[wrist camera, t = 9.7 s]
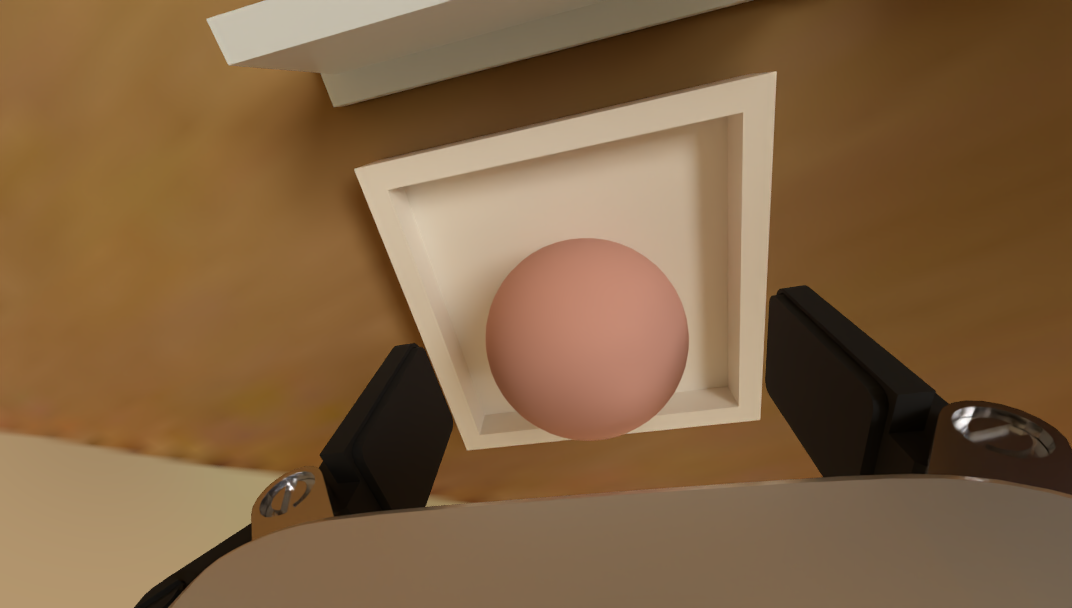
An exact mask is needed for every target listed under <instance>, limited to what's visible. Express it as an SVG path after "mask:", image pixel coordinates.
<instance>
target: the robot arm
mask: <svg viewBox="0 0 1072 608" xmlns="http://www.w3.org/2000/svg"><path fill="white" fill-rule="evenodd" d="M765 383H766V388H767V391H768V393H769V395H770V397H771V398H772V400H773V401H774V403H775V404H776V406H777V407H778V409H779V410H780V412H781V413H782V415H783V416H784V418H785V419H786V421H787V423H788V424H789V426H790V427H791V429H792V430H793V432H794V433H795V435H796V436H797V438H798V439H799V441H800V442H801V444H802V445H803V447H804V448H805V450H806V451H807V453H808V454H809V456H810V457H811V459H812V461H813V462H814V464H815V465H816V467H817V468H818V470H819V471H820V473H821V474H822V476H823V477H822V478H807V479H790V480H773V481H759V482H745V483H731V484H717V485H703V486H689V487H674V488H660V489H647V490H634V491H620V492H607V493H594V494H581V495H568V496H555V497H542V498H529V499H517V500H505V501H493V502H480V503H468V504H456V505H444V506H432V507H425V506H426V503H427V501H428V498H429V495H430V492H431V489H432V486H433V483H434V480H435V478H436V475H437V472H438V469H439V466H440V463H441V460H442V457H443V455H444V452H445V449H446V446H447V443H448V440H449V437H450V434H451V432H452V428H453V419H452V415H451V413H450V410H449V408H448V406H447V403H446V401H445V398H444V396H443V393H442V391H441V388H440V386H439V383H438V381H437V378H436V376H435V373H434V371H433V369H432V366H431V364H430V361H429V359H428V356H427V354H426V351H425V349H424V348H422V347H419V346H418V345H417V344H415V343H412V344H405V345H399V346H395V347H394V348H393V349H392V350H391V352H390V353H389V355H388V356H387V358H386V359H385V361H384V362H383V364H382V365H381V366H380V368H379V369H378V371H377V372H376V374H375V375H374V377H373V378H372V379H371V381H370V382H369V384H368V385H367V387H366V388H365V390H364V391H363V393H362V394H361V395H360V397H359V398H358V400H357V401H356V403H355V404H354V406H353V407H352V409H351V410H350V411H349V413H348V414H347V416H346V417H345V419H344V420H343V422H342V423H341V425H340V426H339V427H338V429H337V430H336V432H335V433H334V435H333V436H332V438H331V439H330V440H329V442H328V443H327V445H326V446H325V448H324V449H323V451H322V452H321V454H320V456H321V458H322V460H323V462H322V464H321V465H320V467H319V468H317V467H314V466H304V467H300V468H297V469H294V470H292V471H290V472H288V473H286V474H284V475H282V476H281V477H279V478H278V479H276V480H275V481H274V482H273V483H271V484H270V485H269V486H268V487H267V488H266V489H265V490H264V491H263V492H262V493H261V495H260V496H259V497H258V498H257V500H256V502H255V504H254V506H253V508H252V514H251V522H252V523H251V524H249V525H248V526H246V527H245V528H243V529H242V530H240V531H239V532H237V533H236V534H234V535H232V536H231V537H229V538H228V539H226V540H225V541H223V542H222V543H220V544H219V545H217V546H216V547H214V548H213V549H211V550H209V551H208V552H206V553H205V554H203V555H202V556H200V557H199V558H197V559H196V560H194V561H192V562H191V563H189V564H188V565H186V566H185V567H183V568H182V569H180V570H179V571H177V572H176V573H174V574H172V575H171V576H169V577H168V578H166V579H165V580H164V581H163V582H161V583H159V584H158V585H156V586H155V587H153V588H152V589H151V590H150V591H149V592H148V593H146V594H145V595H144V596H143V597H142V599H141V600H140V601H139V602H138V604H137V605H136V606H135V607H134V608H1072V449H1071V447H1070V445H1069V443H1068V441H1067V439H1066V438H1065V437H1064V436H1063V435H1062V434H1061V433H1060V432H1059V431H1058V430H1057V429H1056V428H1054V427H1053V426H1051V425H1049V424H1048V423H1046V422H1045V421H1043V420H1041V419H1040V418H1037V417H1035V416H1033V415H1031V414H1028V413H1026V412H1024V411H1022V410H1018V409H1015V408H1012V407H1008V406H1005V405H1002V404H996V403H991V402H985V401H960V402H954V403H951V404H948V403H947V402H946V401H945V400H943V399H942V398H941V397H940V396H939V395H937V394H936V393H935V392H936V391H935V390H934V389H933V388H931V387H930V386H929V385H928V384H927V383H925V382H924V381H923V380H922V379H920V378H919V377H918V376H917V375H916V374H914V373H913V372H912V371H911V370H909V369H908V368H907V367H906V366H905V365H903V364H902V363H901V362H900V361H898V360H897V359H896V358H895V357H894V356H892V355H891V354H890V353H889V352H887V351H886V350H885V349H884V348H883V347H881V346H880V345H879V344H878V343H876V342H875V341H874V340H873V339H872V338H870V337H869V336H868V335H867V334H865V333H864V332H863V331H862V330H861V329H859V328H858V327H857V326H856V325H854V324H853V323H852V322H851V321H850V320H848V319H847V318H846V317H845V316H843V315H842V314H841V313H840V312H839V311H837V310H836V309H835V308H834V307H832V306H831V305H830V304H829V303H828V302H826V301H825V300H824V299H823V298H821V297H820V296H819V295H818V294H817V293H815V292H814V291H813V290H812V289H810V288H809V287H808V286H806V285H803V286H796V287H790V288H783V289H779V290H778V292H777V295H774V296H771V298H770V302H769V320H768V339H767V358H766V377H765Z"/></svg>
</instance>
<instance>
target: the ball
mask: <svg viewBox="0 0 1072 608" xmlns="http://www.w3.org/2000/svg"><path fill="white" fill-rule="evenodd" d="M688 350H689V333H688V324H687V318H686V315H685V311H684V308H683V305H682V302H681V300H680V298H679V296H678V294H677V292H676V290H675V288H674V287H673V285H672V284H671V282H670V281H669V280H668V278H667V277H666V275H665V274H664V273H663V272H662V271H661V270H660V269H659V268H658V267H657V266H656V265H655V264H654V263H653V262H651V261H650V260H649V259H647V258H646V257H645V256H643V255H642V254H640V253H639V252H637V251H635V250H633V249H632V248H629V247H627V246H625V245H622V244H620V243H616V242H612V241H609V240H603V239H596V238H578V239H569V240H564V241H560V242H556V243H553V244H551V245H548V246H545V247H543V248H541V249H539V250H537V251H536V252H534V253H532V254H531V255H529V256H528V257H526V258H525V259H524V260H522V261H521V262H520V263H519V264H518V265H517V266H516V267H515V268H514V269H513V270H512V271H511V272H510V273H509V274H508V276H507V277H506V278H505V279H504V281H503V282H502V284H501V286H500V288H499V289H498V291H497V293H496V295H495V297H494V299H493V302H492V304H491V307H490V311H489V315H488V319H487V324H486V353H487V358H488V362H489V366H490V370H491V373H492V375H493V378H494V380H495V382H496V384H497V386H498V388H499V389H500V391H501V393H502V394H503V396H504V397H505V399H506V400H507V401H508V403H509V404H510V405H511V406H512V407H513V408H514V409H515V410H516V411H517V412H518V413H519V414H520V415H521V416H522V417H523V418H525V419H526V420H527V421H529V422H530V423H532V424H533V425H535V426H537V427H538V428H540V429H542V430H544V431H546V432H548V433H551V434H553V435H556V436H559V437H563V438H567V439H573V440H584V441H592V440H603V439H609V438H613V437H617V436H620V435H623V434H626V433H628V432H630V431H632V430H634V429H636V428H638V427H640V426H641V425H643V424H644V423H646V422H648V421H649V420H650V419H651V418H653V417H654V416H655V415H656V414H657V413H658V412H659V411H660V410H661V409H662V408H663V407H664V406H665V405H666V403H667V402H668V401H669V399H670V398H671V397H672V395H673V394H674V392H675V390H676V389H677V387H678V385H679V383H680V380H681V378H682V375H683V373H684V370H685V367H686V361H687V356H688Z"/></svg>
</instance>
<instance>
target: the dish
mask: <svg viewBox="0 0 1072 608" xmlns="http://www.w3.org/2000/svg"><path fill="white" fill-rule="evenodd" d="M776 75H777V71H775V72H765V73H755V74H747V75H743V76H739V77H735V78H730V79H726V80H722V81H717V82H713V83H709V84H704V85H700V86H696V87H691V88H687V89H683V90H679V91H674V92H670V93H666V94H661V95H657V96H653V97H648V98H644V99H640V100H636V101H631V102H627V103H623V104H618V105H614V106H610V107H605V108H601V109H597V110H593V111H588V112H584V113H580V114H575V115H571V116H567V117H562V118H558V119H554V120H549V121H545V122H541V123H537V124H532V125H528V126H524V127H519V128H515V129H511V130H506V131H502V132H498V133H494V134H489V135H485V136H481V137H476V138H472V139H468V140H463V141H459V142H455V143H451V144H446V145H442V146H438V147H433V148H429V149H425V150H420V151H416V152H412V153H407V154H403V155H399V156H395V157H390V158H386V159H382V160H378V161H375V162H372V163H369V164H366V165H364V166H361V167H358V168H355V169H354V171H355V173H356V176H357V178H358V181H359V183H360V185H361V188H362V190H363V193H364V195H365V198H366V200H367V203H368V205H369V208H370V210H371V213H372V215H373V218H374V220H375V223H376V225H377V228H378V230H379V233H380V235H381V238H382V240H383V243H384V245H385V248H386V250H387V253H388V255H389V258H390V260H391V263H392V265H393V268H394V270H395V272H396V275H397V277H398V280H399V282H400V285H401V287H402V290H403V292H404V295H405V297H406V300H407V302H408V305H409V307H410V310H411V312H412V315H413V317H414V320H415V322H416V325H417V327H418V330H419V332H420V335H421V337H422V340H423V342H424V345H425V347H426V350H427V352H428V355H429V357H430V360H431V362H432V364H433V367H434V369H435V372H436V374H437V377H438V379H439V382H440V384H441V387H442V389H443V392H444V394H445V397H446V399H447V402H448V404H449V407H450V409H451V412H452V414H453V417H454V419H455V422H456V424H457V427H458V429H459V432H460V434H461V437H462V439H463V442H464V444H465V447H466V449H467V450H477V449H486V448H496V447H506V446H515V445H525V444H534V443H544V442H553V441H563V440H572V439H567V438H563V437H559V436H556V435H553V434H551V433H548V432H546V431H544V430H542V429H540V428H538V427H537V426H535V425H533V424H532V423H530V422H529V421H527V420H526V419H525V418H523V417H522V416H521V415H520V414H519V413H518V412H517V411H516V410H515V409H514V408H513V407H512V406H511V405H510V404H509V403H508V401H507V400H506V399H505V397H504V396H503V394H502V393H501V391H500V389H499V388H498V386H497V384H496V382H495V380H494V378H493V375H492V373H491V370H490V366H489V362H488V358H487V353H486V324H487V319H488V315H489V311H490V307H491V304H492V302H493V299H494V297H495V295H496V293H497V291H498V289H499V288H500V286H501V284H502V282H503V281H504V279H505V278H506V277H507V276H508V274H509V273H510V272H511V271H512V270H513V269H514V268H515V267H516V266H517V265H518V264H519V263H520V262H521V261H522V260H524V259H525V258H526V257H528V256H529V255H531V254H532V253H534V252H536V251H537V250H539V249H541V248H543V247H545V246H548V245H551V244H553V243H556V242H560V241H564V240H569V239H578V238H596V239H603V240H609V241H612V242H616V243H620V244H622V245H625V246H627V247H629V248H632V249H633V250H635V251H637V252H639V253H640V254H642V255H643V256H645V257H646V258H647V259H649V260H650V261H651V262H653V263H654V264H655V265H656V266H657V267H658V268H659V269H660V270H661V271H662V272H663V273H664V274H665V275H666V277H667V278H668V280H669V281H670V282H671V284H672V285H673V287H674V288H675V290H676V292H677V294H678V296H679V298H680V300H681V302H682V305H683V308H684V311H685V315H686V318H687V324H688V333H689V350H688V356H687V361H686V367H685V370H684V373H683V375H682V378H681V380H680V383H679V385H678V387H677V389H676V390H675V392H674V394H673V395H672V397H671V398H670V399H669V401H668V402H667V403H666V405H665V406H664V407H663V408H662V409H661V410H660V411H659V412H658V413H657V414H656V415H655V416H654V417H653V418H651V419H650V420H649V421H648V422H646V423H644V424H643V425H641V426H640V427H638V428H636V429H634V430H632V431H630V432H628V433H626V434H630V433H639V432H649V431H658V430H668V429H678V428H687V427H697V426H706V425H716V424H725V423H735V422H744V421H754V420H760V415H761V394H762V372H763V351H764V330H765V309H766V288H767V266H768V245H769V224H770V203H771V182H772V160H773V139H774V118H775V97H776Z"/></svg>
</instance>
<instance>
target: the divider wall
mask: <svg viewBox="0 0 1072 608" xmlns="http://www.w3.org/2000/svg"><path fill="white" fill-rule="evenodd" d="M748 1H752V0H265V1H261V2H258V3H255V4H252V5H249V6H246V7H242V8H239V9H236V10H233V11H230V12H227V13H223V14H220V15H217V16H214V17H211V18H208V19H206V20H207V22H208V24H209V26H210V28H211V30H212V32H213V34H214V36H215V38H216V40H217V43H218V45H219V47H220V49H221V51H222V53H223V55H224V57H225V59H226V61H227V63H228V65H231V66H243V67H255V68H267V69H279V70H291V71H303V72H315V73H320V74H321V76H322V79H323V81H324V84H325V86H326V89H327V91H328V94H329V97H330V99H331V102H332V104H333V107H343V106H347V105H351V104H355V103H359V102H362V101H366V100H370V99H374V98H378V97H382V96H386V95H389V94H393V93H397V92H401V91H405V90H409V89H413V88H416V87H420V86H424V85H428V84H432V83H436V82H440V81H443V80H447V79H451V78H455V77H459V76H463V75H467V74H470V73H474V72H478V71H482V70H486V69H490V68H494V67H497V66H501V65H505V64H509V63H513V62H517V61H521V60H524V59H528V58H532V57H536V56H540V55H544V54H548V53H551V52H555V51H559V50H563V49H567V48H571V47H575V46H578V45H582V44H586V43H590V42H594V41H598V40H602V39H605V38H609V37H613V36H617V35H621V34H625V33H629V32H632V31H636V30H640V29H644V28H648V27H652V26H656V25H659V24H663V23H667V22H671V21H675V20H679V19H683V18H686V17H690V16H694V15H698V14H702V13H706V12H710V11H713V10H717V9H721V8H725V7H729V6H733V5H737V4H740V3H744V2H748Z"/></svg>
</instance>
